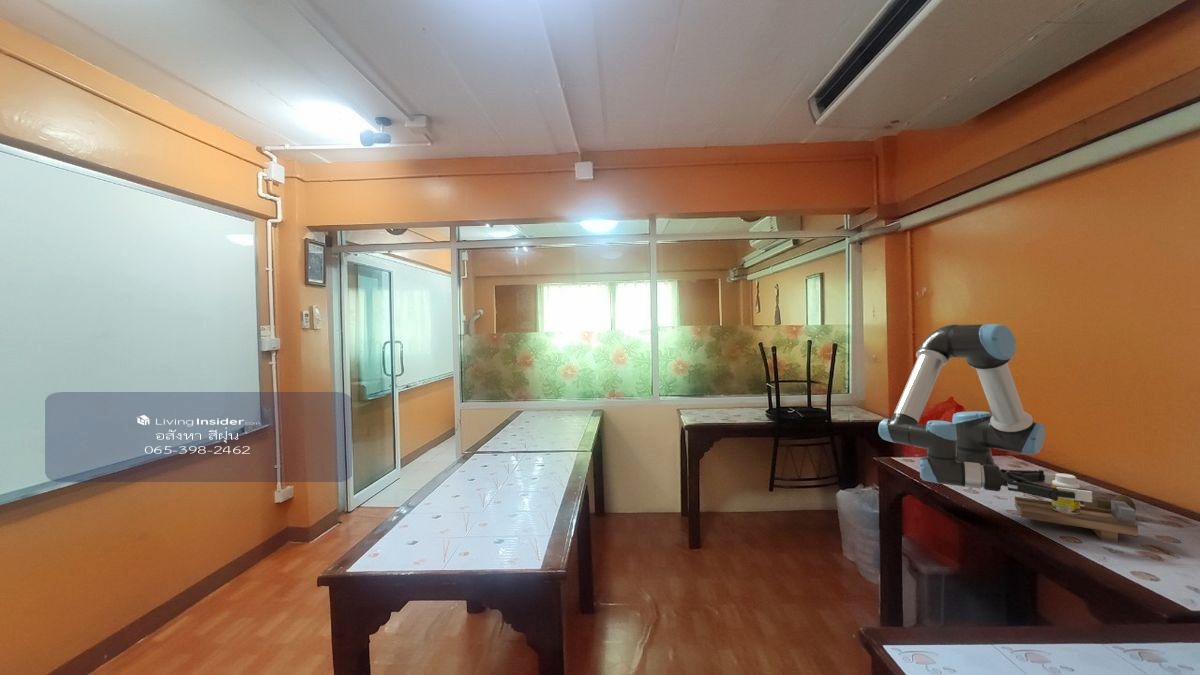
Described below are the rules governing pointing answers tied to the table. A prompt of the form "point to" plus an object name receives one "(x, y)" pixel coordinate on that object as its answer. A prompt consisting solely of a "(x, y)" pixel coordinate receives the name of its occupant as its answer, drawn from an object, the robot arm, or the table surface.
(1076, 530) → the table surface
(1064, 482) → the supplement bottle
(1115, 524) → the wooden rack
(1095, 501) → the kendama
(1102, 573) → the table surface
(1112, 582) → the table surface
